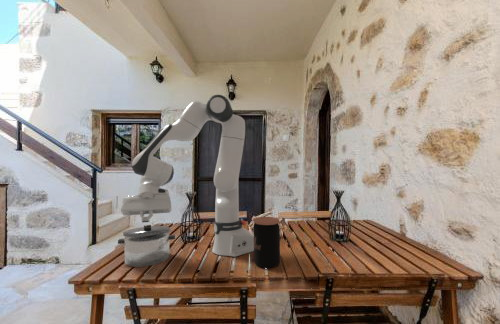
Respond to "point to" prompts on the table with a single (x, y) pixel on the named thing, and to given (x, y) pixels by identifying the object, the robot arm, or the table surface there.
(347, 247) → the table surface
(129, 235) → the lid
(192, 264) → the table surface
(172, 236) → the pot
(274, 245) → the coffee jar
